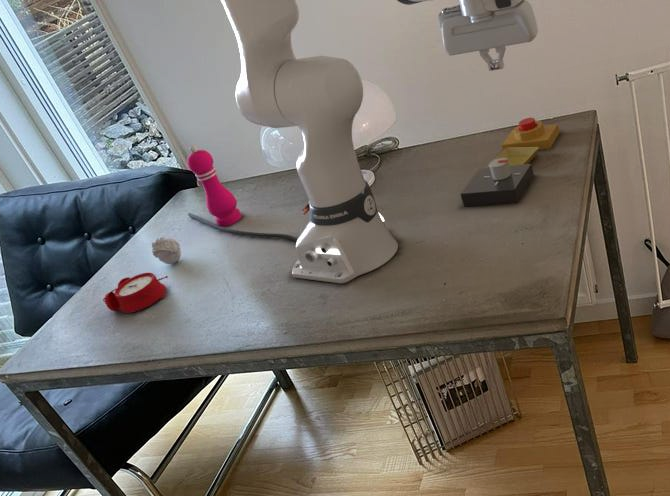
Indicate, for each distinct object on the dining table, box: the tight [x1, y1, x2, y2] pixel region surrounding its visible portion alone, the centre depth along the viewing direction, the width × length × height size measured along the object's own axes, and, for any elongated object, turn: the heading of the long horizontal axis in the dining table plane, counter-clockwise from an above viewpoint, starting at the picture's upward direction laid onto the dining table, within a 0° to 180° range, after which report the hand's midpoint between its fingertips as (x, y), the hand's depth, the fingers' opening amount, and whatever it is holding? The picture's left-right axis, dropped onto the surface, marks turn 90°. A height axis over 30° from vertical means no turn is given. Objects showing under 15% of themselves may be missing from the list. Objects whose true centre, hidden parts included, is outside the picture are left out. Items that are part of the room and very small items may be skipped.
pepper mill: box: [186, 144, 243, 228], centre depth 180 cm, size 7×7×20 cm
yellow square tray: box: [487, 147, 539, 168], centre depth 163 cm, size 9×9×2 cm
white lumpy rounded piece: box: [151, 236, 182, 265], centre depth 173 cm, size 6×7×7 cm
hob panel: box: [460, 163, 535, 208], centre depth 154 cm, size 12×11×3 cm
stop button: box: [518, 117, 536, 131], centre depth 167 cm, size 4×4×2 cm
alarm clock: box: [102, 272, 168, 314], centre depth 162 cm, size 10×6×15 cm
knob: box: [488, 158, 511, 180], centre depth 152 cm, size 4×4×3 cm
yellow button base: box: [501, 119, 560, 151], centre depth 169 cm, size 11×8×4 cm
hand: (496, 69), depth 158 cm, fingers closed
